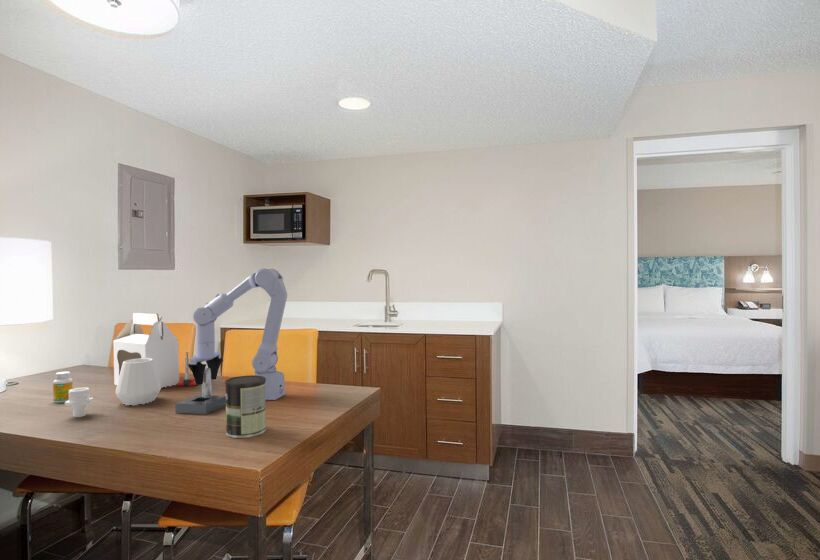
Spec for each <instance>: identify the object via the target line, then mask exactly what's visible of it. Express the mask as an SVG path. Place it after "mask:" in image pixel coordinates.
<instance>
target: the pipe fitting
mask: <svg viewBox="0 0 820 560" xmlns="http://www.w3.org/2000/svg"><path fill="white" fill-rule="evenodd" d="M68 393H69V400H68V401H66V402H64V406H68V407H72V416H73V418H81V417H85V416H86V415H87V405H89V404H91V403H92V402H94V397H90V388H89V387H77V388H73V389H71V390H69V392H68Z"/></svg>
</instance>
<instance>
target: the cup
mask: <svg viewBox="0 0 820 560" xmlns="http://www.w3.org/2000/svg"><path fill="white" fill-rule="evenodd" d="M161 389H162V388H161V385H160V382H159V379H158V375H157V372H156V369H155V366H154V362H153V359H150V358H140V359H131V360H126V361H124V362H123V364H122V368H121V372H120V375H119V379H118V383H117V386H116V387H115V396H116V397H117V398H118V400H119V401H120V402H121V404H122V405H123V404H125V405H124V406H129V405H132V406H139V405H138V404H142V405H146V404H145V403H147V404H150V403H152V401H153V402H154V401H155V400H156V399H157V396H158V394H159V393H160V392H161ZM149 402H150V403H149Z"/></svg>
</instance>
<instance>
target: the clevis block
mask: <svg viewBox="0 0 820 560" xmlns="http://www.w3.org/2000/svg"><path fill="white" fill-rule="evenodd" d="M174 405H175V406H174V407H175V409H174V411H175V414H182V413H192V414H191V415H203V414H207V415H208V413H209V414H211V413H213V412H215V411H217V410H219V409H222V408H224V407H226V406H225V405H226V395H212V394H211V395H202V394H195V395H193V396H191V397H188V398H186V399H182V400H181V401H178V402H176V403H174ZM223 406H224V407H223ZM214 410H215V411H214ZM212 411H213V412H212ZM210 412H211V413H210Z"/></svg>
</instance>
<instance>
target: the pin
mask: <svg viewBox="0 0 820 560" xmlns="http://www.w3.org/2000/svg"><path fill="white" fill-rule="evenodd" d="M201 395H212V380H211V368H208V367H205V371H204V378H203V384H202V385H201Z"/></svg>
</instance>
